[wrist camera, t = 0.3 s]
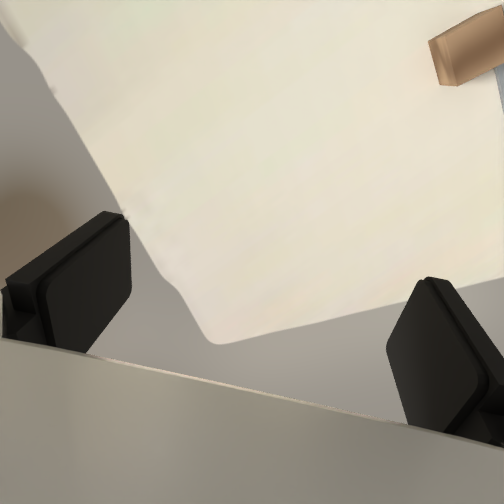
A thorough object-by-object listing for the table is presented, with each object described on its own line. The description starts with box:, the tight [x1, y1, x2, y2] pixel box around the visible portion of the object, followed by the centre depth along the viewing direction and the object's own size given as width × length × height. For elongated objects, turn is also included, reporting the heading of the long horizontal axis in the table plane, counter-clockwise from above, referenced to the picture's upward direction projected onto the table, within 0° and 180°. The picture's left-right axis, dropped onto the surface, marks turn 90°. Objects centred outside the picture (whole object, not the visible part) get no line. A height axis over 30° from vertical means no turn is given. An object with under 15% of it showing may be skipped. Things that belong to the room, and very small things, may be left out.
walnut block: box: [428, 5, 504, 86], centre depth 34 cm, size 5×5×5 cm
